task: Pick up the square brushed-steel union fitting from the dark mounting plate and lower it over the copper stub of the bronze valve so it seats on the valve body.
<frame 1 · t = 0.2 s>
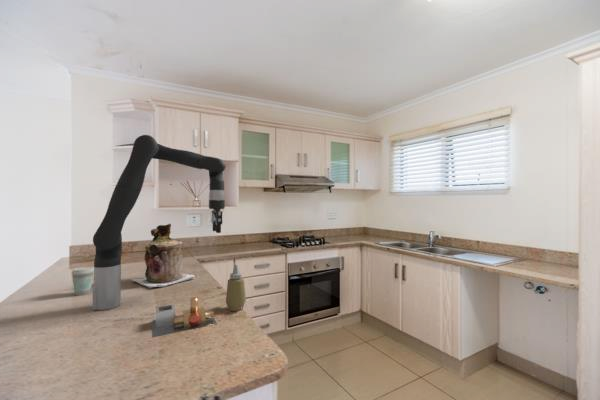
hand: (216, 231, 135), 29 cm above the worktop, fingers open, 8 cm apart
coffee cup: (82, 293, 130), on the worktop
valve station: (184, 324, 97), on the worktop
squeeze bottle: (235, 309, 111), on the worktop
steel fitting: (165, 322, 96), point 1 cm above the worktop, touching valve station
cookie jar: (164, 280, 152), on the worktop
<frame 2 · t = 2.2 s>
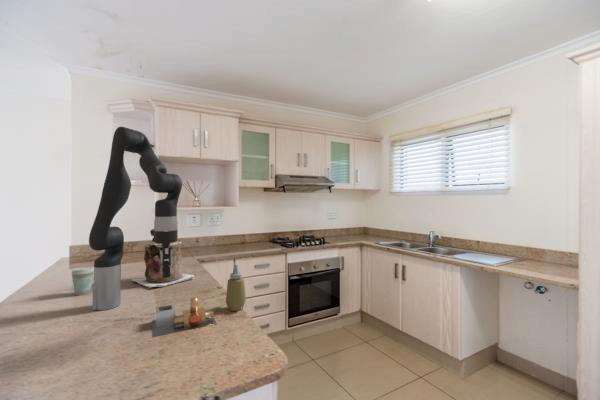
hand: (165, 274, 97), 18 cm above the worktop, fingers open, 8 cm apart
nothing on the worktop moved.
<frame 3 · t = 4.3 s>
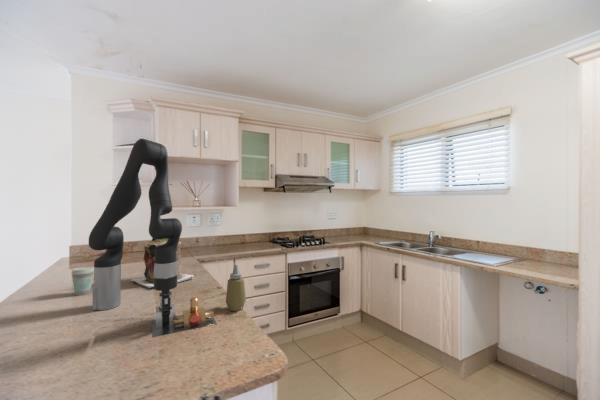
hand: (165, 321, 96), 1 cm above the worktop, fingers closed on steel fitting, 6 cm apart
steel fitting: (165, 322, 96), point 1 cm above the worktop, touching gripper, valve station
everything else where it was.
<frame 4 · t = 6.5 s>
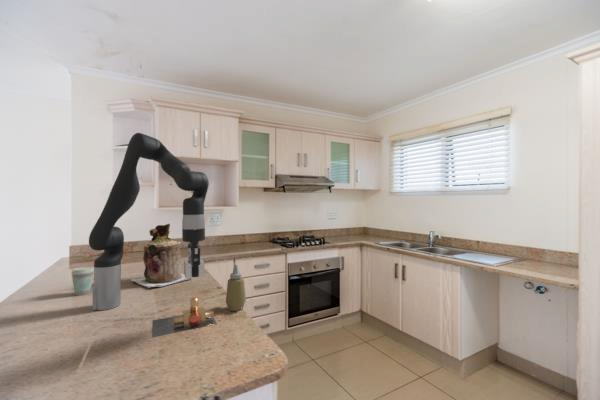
hand: (194, 274, 96), 18 cm above the worktop, fingers closed on steel fitting, 6 cm apart
steel fitting: (194, 275, 96), point 18 cm above the worktop, touching gripper
everything else where it was.
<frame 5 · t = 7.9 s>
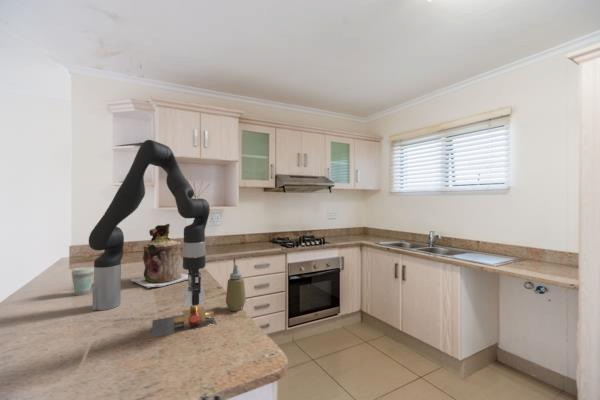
hand: (194, 301, 96), 8 cm above the worktop, fingers closed on steel fitting, 6 cm apart
steel fitting: (194, 302, 96), point 8 cm above the worktop, touching gripper
everything else where it was.
when the fingers open (7 cm above the worktop, at t = 8.8 s): steel fitting drops 1 cm, resting on valve station.
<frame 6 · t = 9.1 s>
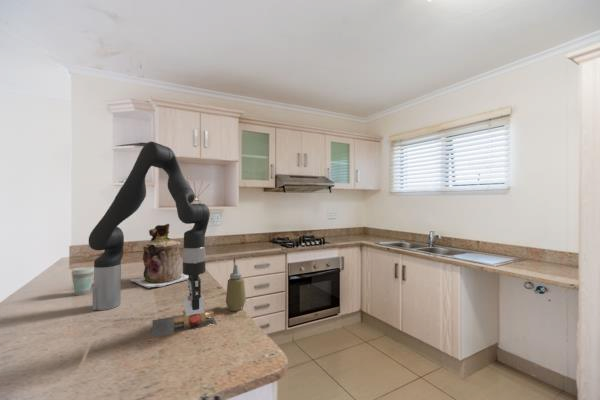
hand: (194, 305, 96), 7 cm above the worktop, fingers open, 8 cm apart
steel fitting: (194, 311, 96), point 5 cm above the worktop, touching valve station
everything else where it was.
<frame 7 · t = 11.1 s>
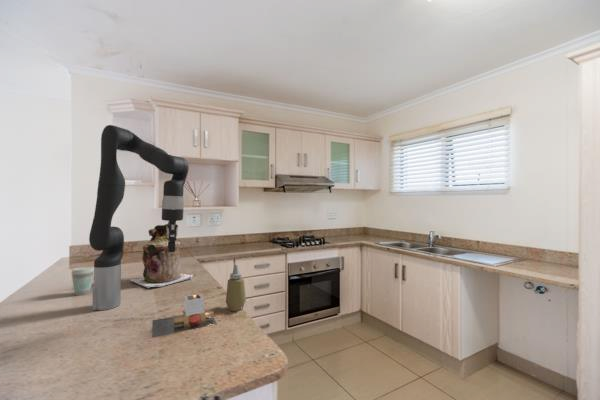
hand: (171, 249, 104), 25 cm above the worktop, fingers open, 8 cm apart
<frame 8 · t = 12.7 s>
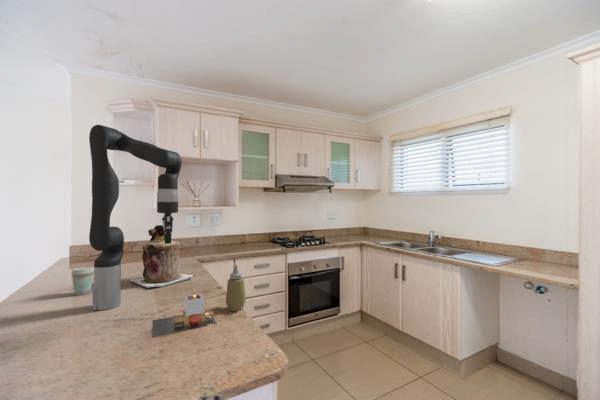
hand: (167, 241, 107), 28 cm above the worktop, fingers open, 8 cm apart
at the end: steel fitting 0.0 cm from the target spot on the valve station, point 5.0 cm above the valve station's base; steel fitting tilted 0°; the gripper is holding nothing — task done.
